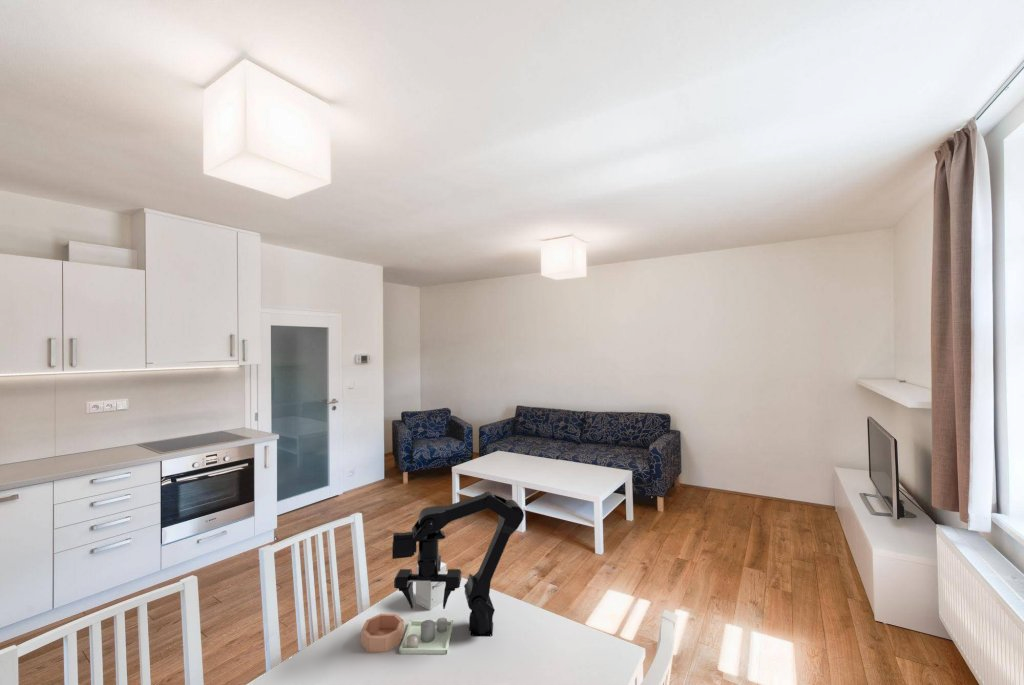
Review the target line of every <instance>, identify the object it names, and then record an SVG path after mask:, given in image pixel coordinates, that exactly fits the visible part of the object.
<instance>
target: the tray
mask: <svg viewBox="0 0 1024 685" xmlns="http://www.w3.org/2000/svg"><path fill="white" fill-rule="evenodd" d="M437 620H438V619H436V620H434V619H433V621H434V622H435V638H434V640H433V641H432V642H429V643H424V642H422V641H421V623H422V622H423V621H425V619H423V620H422V619H419V620H418V619H416V620H415V619H414V620H413V619H410V621H409V623H408V626H407V627H406V630H405V633H404V635H403V637H402V640H401V643H400V646H399V649H398V654H399V655H448V651H449V645H450V642H451V637H452V633H453V628H454V620H448V619H447V630H446V631H445V632H443V633H439V632H438V631H437ZM411 634H416V635H418V648H407V637H408V636H409V635H411Z"/></svg>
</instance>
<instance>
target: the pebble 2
mask: <svg viewBox="0 0 1024 685" xmlns="http://www.w3.org/2000/svg"><path fill="white" fill-rule="evenodd" d="M436 620H437V631H438V632H439V633H443V632H445V631H446V630H447V620H448V619H447V618H446V617H439V618H437V619H436Z"/></svg>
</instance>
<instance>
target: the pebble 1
mask: <svg viewBox="0 0 1024 685" xmlns="http://www.w3.org/2000/svg"><path fill="white" fill-rule="evenodd" d="M407 648H418V635H416V634H411V635H409V636H408V637H407Z"/></svg>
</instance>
